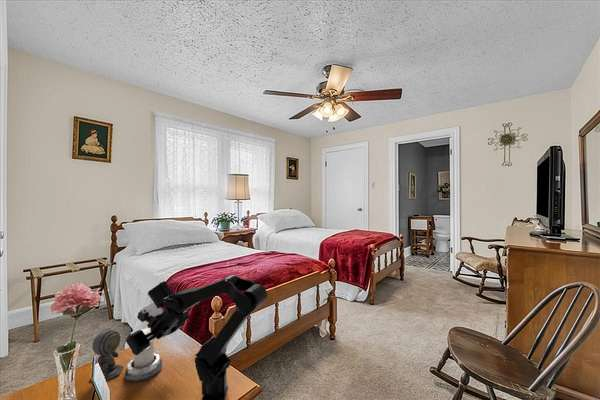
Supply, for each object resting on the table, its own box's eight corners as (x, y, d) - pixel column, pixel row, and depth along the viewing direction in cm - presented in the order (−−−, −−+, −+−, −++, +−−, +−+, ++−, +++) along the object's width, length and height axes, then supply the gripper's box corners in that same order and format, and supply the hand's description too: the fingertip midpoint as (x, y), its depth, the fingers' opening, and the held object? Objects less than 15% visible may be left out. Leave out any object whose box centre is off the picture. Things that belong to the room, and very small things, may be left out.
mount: (167, 360, 100) (166, 350, 99) (153, 381, 89) (153, 370, 88) (135, 361, 99) (135, 352, 99) (118, 383, 88) (117, 372, 88)
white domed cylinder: (154, 359, 98) (153, 326, 97) (153, 369, 92) (152, 335, 92) (135, 364, 95) (134, 330, 95) (132, 374, 90) (131, 339, 89)
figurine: (107, 385, 87) (106, 339, 86) (82, 380, 89) (80, 336, 88) (129, 367, 95) (128, 326, 95) (105, 364, 97) (104, 323, 97)
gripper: (177, 288, 99) (155, 314, 103) (129, 310, 82) (105, 339, 86) (194, 313, 97) (172, 338, 101) (149, 340, 79) (124, 369, 84)
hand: (145, 344), depth 93 cm, fingers open, 9 cm apart
